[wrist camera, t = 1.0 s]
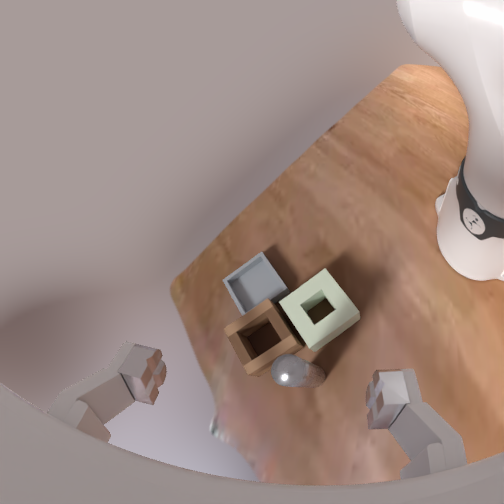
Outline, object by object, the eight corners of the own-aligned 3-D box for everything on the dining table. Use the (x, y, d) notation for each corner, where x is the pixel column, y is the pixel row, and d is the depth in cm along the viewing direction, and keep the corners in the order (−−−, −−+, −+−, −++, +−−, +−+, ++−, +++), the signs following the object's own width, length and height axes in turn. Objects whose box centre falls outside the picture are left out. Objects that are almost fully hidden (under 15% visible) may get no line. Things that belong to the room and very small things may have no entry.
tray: (265, 256, 49) (261, 251, 48) (290, 292, 45) (287, 287, 43) (227, 284, 50) (222, 280, 48) (249, 321, 45) (243, 318, 43)
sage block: (329, 278, 43) (325, 268, 40) (360, 318, 38) (359, 311, 35) (286, 309, 44) (278, 302, 40) (314, 351, 39) (309, 348, 36)
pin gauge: (317, 361, 38) (292, 347, 27) (329, 379, 36) (309, 374, 25) (298, 373, 38) (265, 365, 27) (310, 391, 36) (281, 392, 25)
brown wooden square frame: (276, 305, 45) (267, 298, 41) (303, 347, 40) (297, 343, 37) (235, 334, 45) (223, 328, 42) (258, 376, 40) (247, 375, 37)
